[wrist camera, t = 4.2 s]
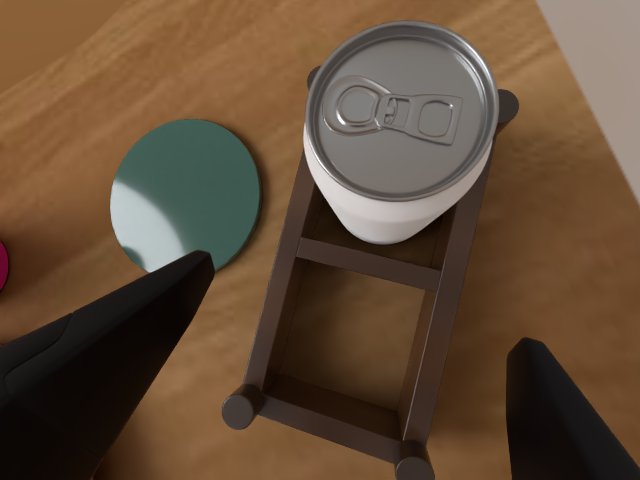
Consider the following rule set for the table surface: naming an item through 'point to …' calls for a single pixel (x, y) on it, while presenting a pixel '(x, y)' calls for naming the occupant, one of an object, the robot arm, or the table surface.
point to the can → (399, 127)
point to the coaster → (185, 195)
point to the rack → (428, 346)
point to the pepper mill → (3, 265)
